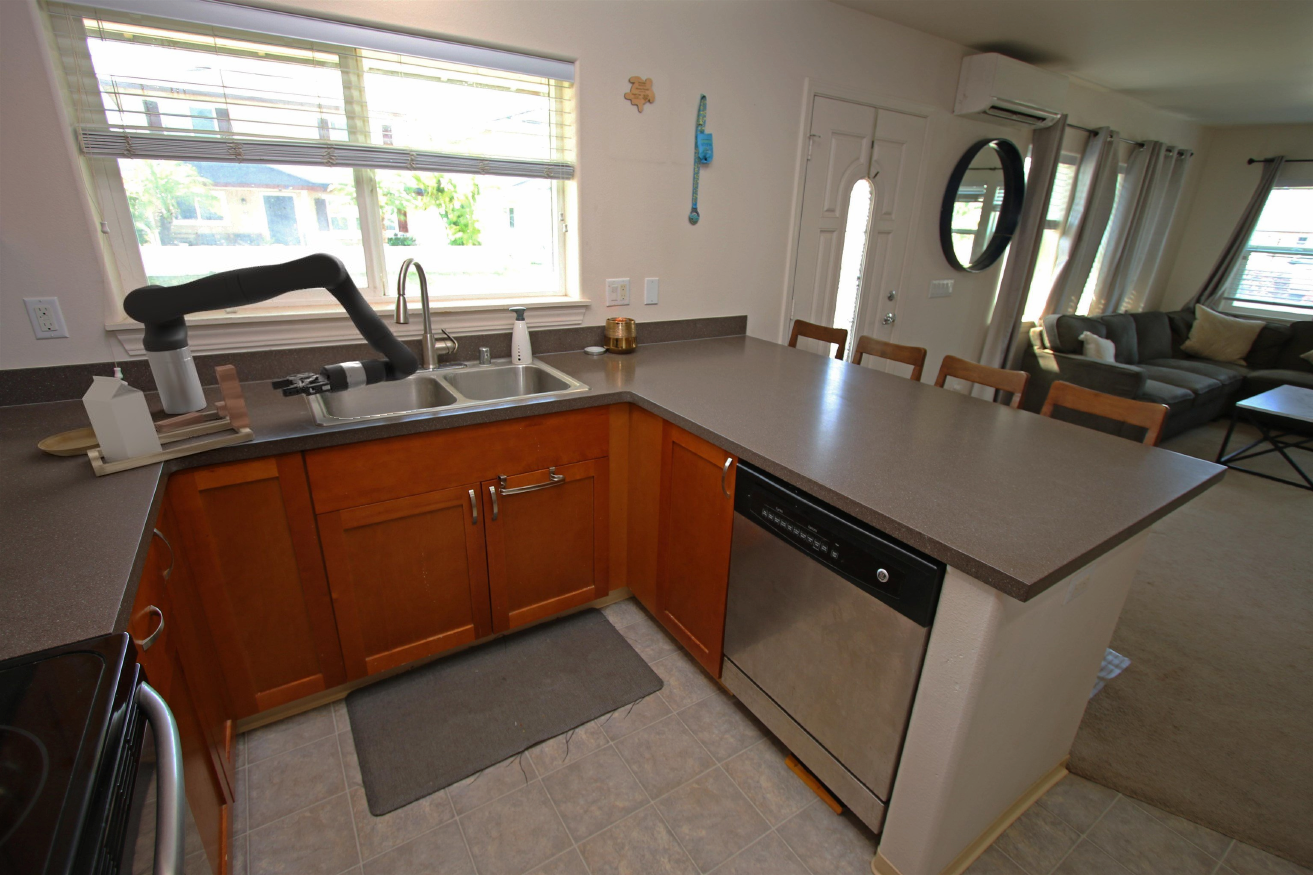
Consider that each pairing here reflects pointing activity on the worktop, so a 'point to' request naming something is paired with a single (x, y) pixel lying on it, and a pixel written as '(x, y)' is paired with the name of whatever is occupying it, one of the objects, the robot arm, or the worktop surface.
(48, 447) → the plant saucer
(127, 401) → the milk carton
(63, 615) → the worktop surface
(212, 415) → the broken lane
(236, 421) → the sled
